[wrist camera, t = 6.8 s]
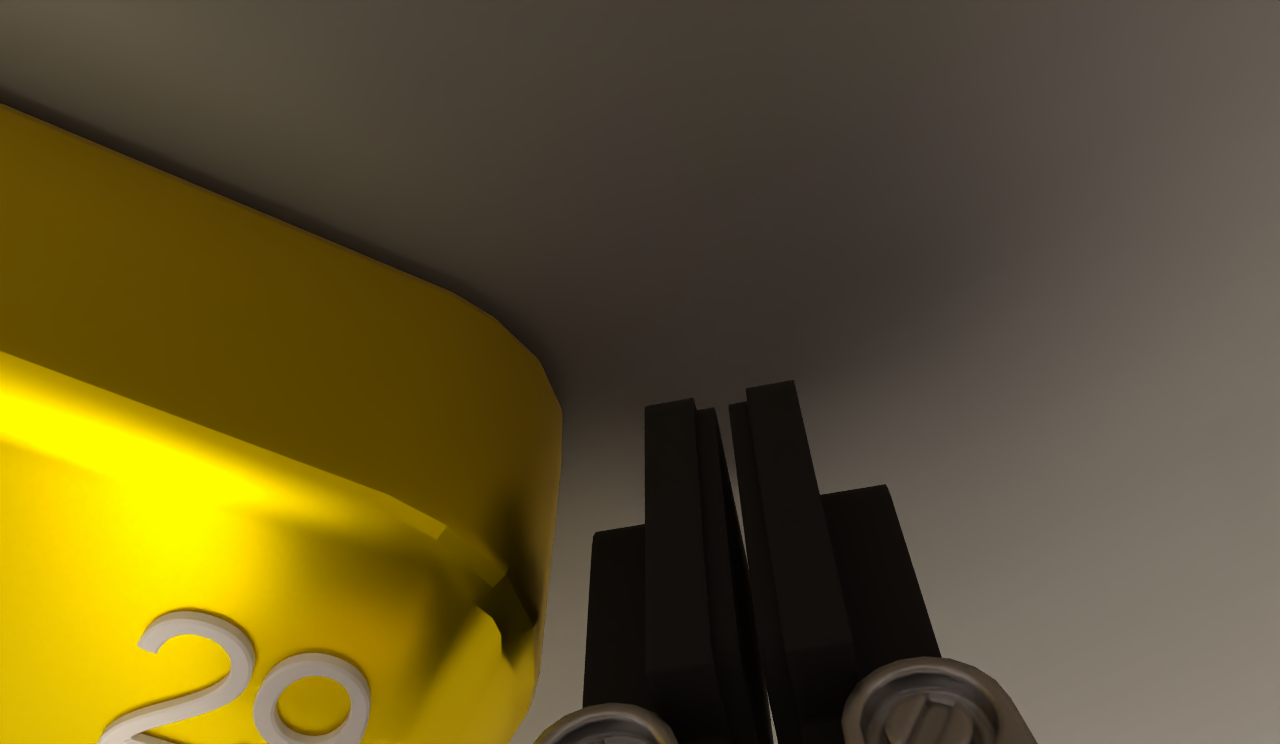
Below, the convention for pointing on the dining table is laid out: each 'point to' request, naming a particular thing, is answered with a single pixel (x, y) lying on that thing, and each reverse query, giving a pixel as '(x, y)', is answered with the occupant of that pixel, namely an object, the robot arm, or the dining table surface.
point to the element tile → (252, 475)
